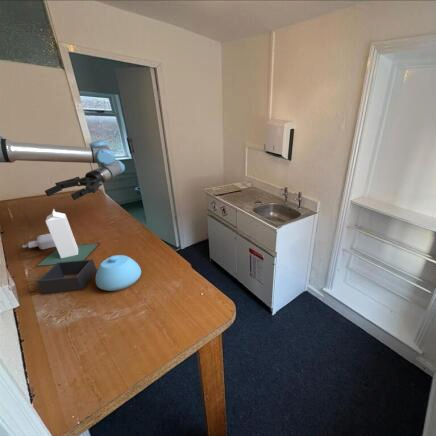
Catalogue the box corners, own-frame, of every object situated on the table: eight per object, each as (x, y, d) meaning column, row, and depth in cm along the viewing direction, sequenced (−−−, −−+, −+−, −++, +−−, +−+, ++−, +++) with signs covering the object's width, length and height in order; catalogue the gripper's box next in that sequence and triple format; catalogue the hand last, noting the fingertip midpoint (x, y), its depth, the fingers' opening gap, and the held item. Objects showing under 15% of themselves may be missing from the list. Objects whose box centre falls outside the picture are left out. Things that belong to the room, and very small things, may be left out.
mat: (37, 266, 100) (36, 265, 100) (59, 247, 114) (59, 246, 114) (81, 262, 104) (81, 261, 104) (97, 244, 118) (97, 243, 118)
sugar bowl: (110, 299, 86) (101, 273, 81) (90, 284, 92) (81, 260, 88) (149, 277, 98) (144, 254, 93) (129, 265, 104) (123, 243, 100)
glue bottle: (25, 246, 113) (66, 237, 122) (24, 255, 107) (67, 244, 117) (20, 238, 111) (63, 229, 120) (19, 246, 105) (64, 236, 115)
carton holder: (43, 294, 86) (37, 281, 84) (62, 274, 97) (57, 262, 94) (82, 289, 89) (77, 277, 87) (96, 270, 100) (92, 259, 97)
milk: (61, 258, 105) (41, 214, 96) (62, 252, 110) (43, 209, 100) (78, 254, 109) (61, 211, 100) (78, 248, 113) (62, 207, 104)
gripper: (122, 185, 125) (87, 205, 107) (80, 180, 127) (40, 199, 110) (116, 172, 120) (80, 191, 103) (74, 167, 123) (31, 184, 105)
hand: (59, 195), depth 106 cm, fingers open, 13 cm apart
